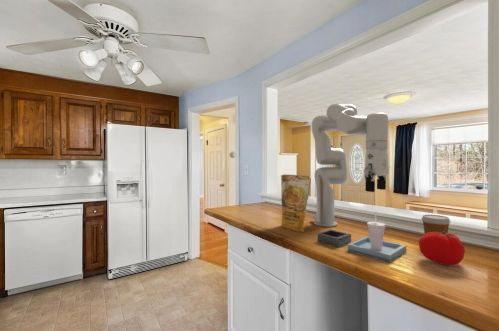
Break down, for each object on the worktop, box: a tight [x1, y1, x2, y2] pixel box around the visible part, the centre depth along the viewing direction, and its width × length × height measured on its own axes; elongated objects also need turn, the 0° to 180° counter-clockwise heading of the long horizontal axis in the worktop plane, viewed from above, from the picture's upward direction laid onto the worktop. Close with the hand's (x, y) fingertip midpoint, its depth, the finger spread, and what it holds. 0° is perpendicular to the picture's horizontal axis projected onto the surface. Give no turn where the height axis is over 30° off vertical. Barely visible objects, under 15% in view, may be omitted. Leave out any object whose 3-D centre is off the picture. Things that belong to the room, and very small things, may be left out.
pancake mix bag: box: [280, 174, 312, 233], centre depth 131 cm, size 7×19×28 cm, turn 35°
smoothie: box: [366, 211, 386, 250], centre depth 97 cm, size 6×6×14 cm
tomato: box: [418, 231, 466, 266], centre depth 86 cm, size 13×12×11 cm
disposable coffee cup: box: [420, 214, 452, 234], centre depth 102 cm, size 10×10×12 cm
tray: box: [347, 236, 407, 263], centre depth 96 cm, size 15×15×2 cm
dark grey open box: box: [316, 228, 352, 248], centre depth 108 cm, size 10×10×4 cm
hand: (375, 190), depth 97 cm, fingers open, 9 cm apart
